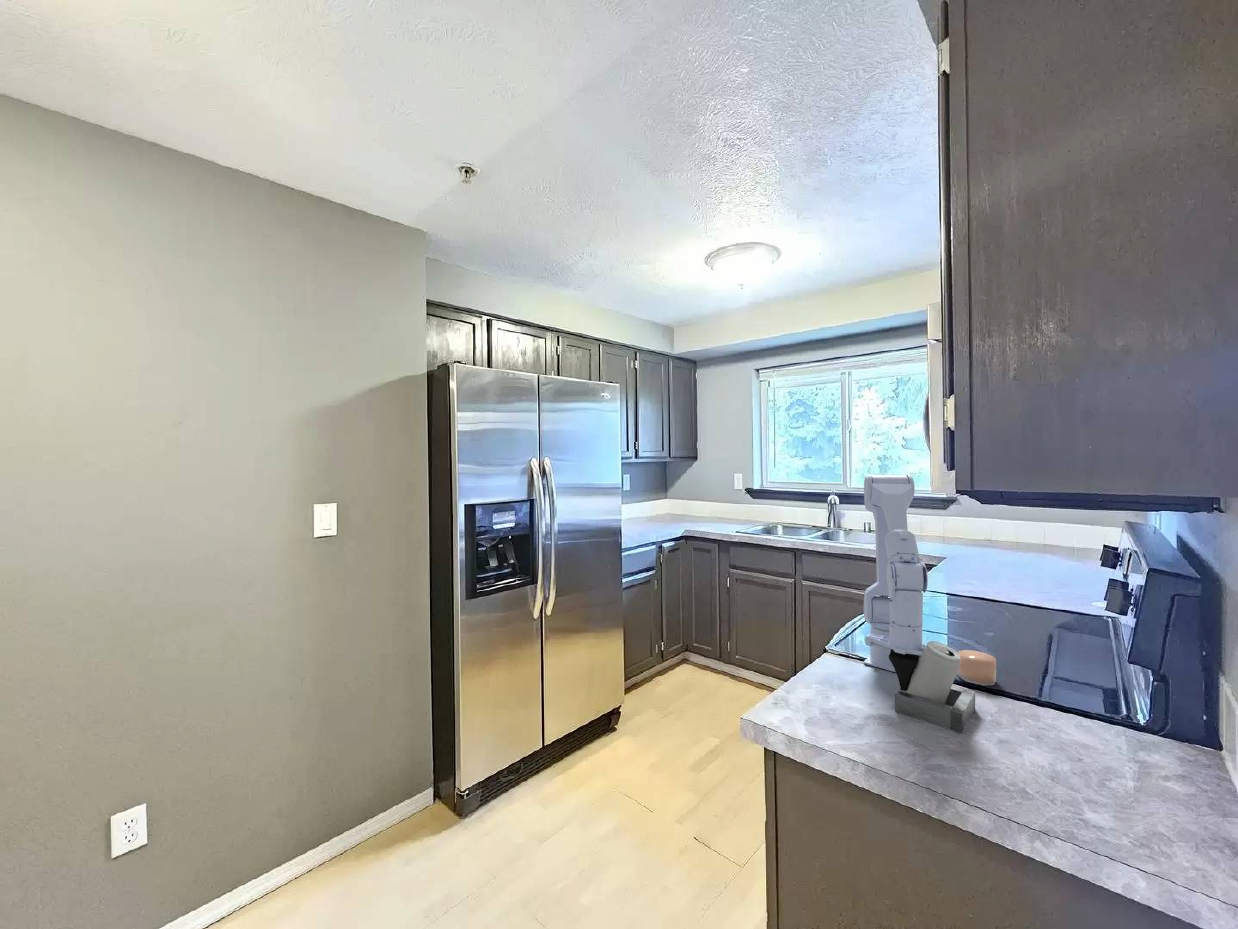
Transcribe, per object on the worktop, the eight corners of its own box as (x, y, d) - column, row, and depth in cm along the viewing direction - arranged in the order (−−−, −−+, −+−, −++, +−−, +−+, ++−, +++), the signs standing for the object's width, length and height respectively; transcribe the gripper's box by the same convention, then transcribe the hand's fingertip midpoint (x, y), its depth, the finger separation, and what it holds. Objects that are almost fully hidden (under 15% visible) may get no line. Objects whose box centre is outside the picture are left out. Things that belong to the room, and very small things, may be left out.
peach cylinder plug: (961, 669, 119) (961, 647, 118) (998, 678, 114) (999, 656, 113) (953, 679, 114) (953, 657, 113) (992, 689, 109) (993, 666, 108)
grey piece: (912, 690, 108) (912, 674, 108) (975, 709, 101) (975, 691, 101) (894, 711, 100) (895, 693, 100) (961, 733, 93) (962, 714, 93)
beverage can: (939, 719, 98) (962, 665, 95) (902, 701, 101) (923, 647, 98) (943, 704, 103) (964, 651, 100) (907, 686, 106) (927, 635, 103)
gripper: (860, 618, 106) (859, 684, 106) (942, 637, 96) (941, 709, 96) (872, 610, 111) (871, 673, 111) (951, 627, 101) (950, 695, 101)
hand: (904, 689), depth 104 cm, fingers closed
